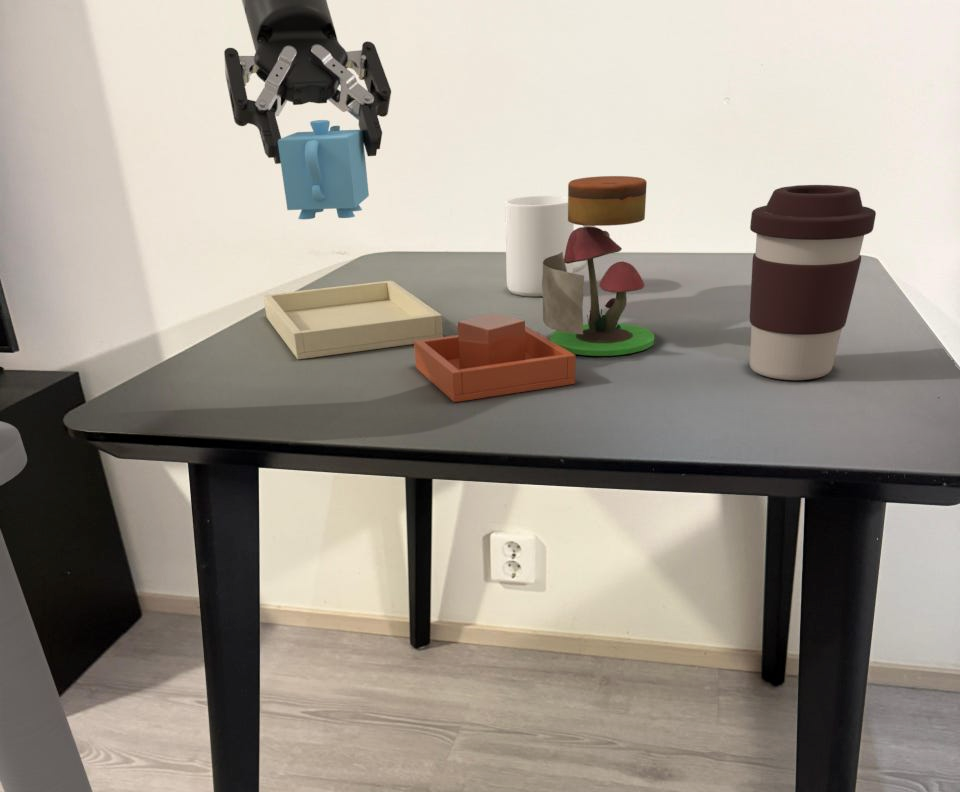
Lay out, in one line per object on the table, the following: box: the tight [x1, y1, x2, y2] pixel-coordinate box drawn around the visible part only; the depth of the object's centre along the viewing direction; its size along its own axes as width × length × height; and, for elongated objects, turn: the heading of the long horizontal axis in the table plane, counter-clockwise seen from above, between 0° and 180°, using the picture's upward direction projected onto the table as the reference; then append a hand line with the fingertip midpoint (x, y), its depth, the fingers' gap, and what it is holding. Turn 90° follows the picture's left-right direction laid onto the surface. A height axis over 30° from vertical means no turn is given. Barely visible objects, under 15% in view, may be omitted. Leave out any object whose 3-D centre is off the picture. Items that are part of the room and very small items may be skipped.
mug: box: [504, 195, 596, 298], centre depth 114 cm, size 12×8×10 cm
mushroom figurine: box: [542, 175, 655, 357], centre depth 91 cm, size 12×13×15 cm
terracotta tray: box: [413, 325, 577, 403], centre depth 86 cm, size 12×12×3 cm
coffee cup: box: [749, 184, 877, 381], centre depth 80 cm, size 10×10×15 cm
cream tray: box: [262, 280, 444, 360], centre depth 103 cm, size 16×20×3 cm
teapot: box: [278, 119, 370, 220], centre depth 83 cm, size 12×6×8 cm, turn 176°
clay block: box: [457, 312, 526, 369], centre depth 85 cm, size 4×4×4 cm
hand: (326, 153), depth 82 cm, fingers closed on teapot, 8 cm apart
